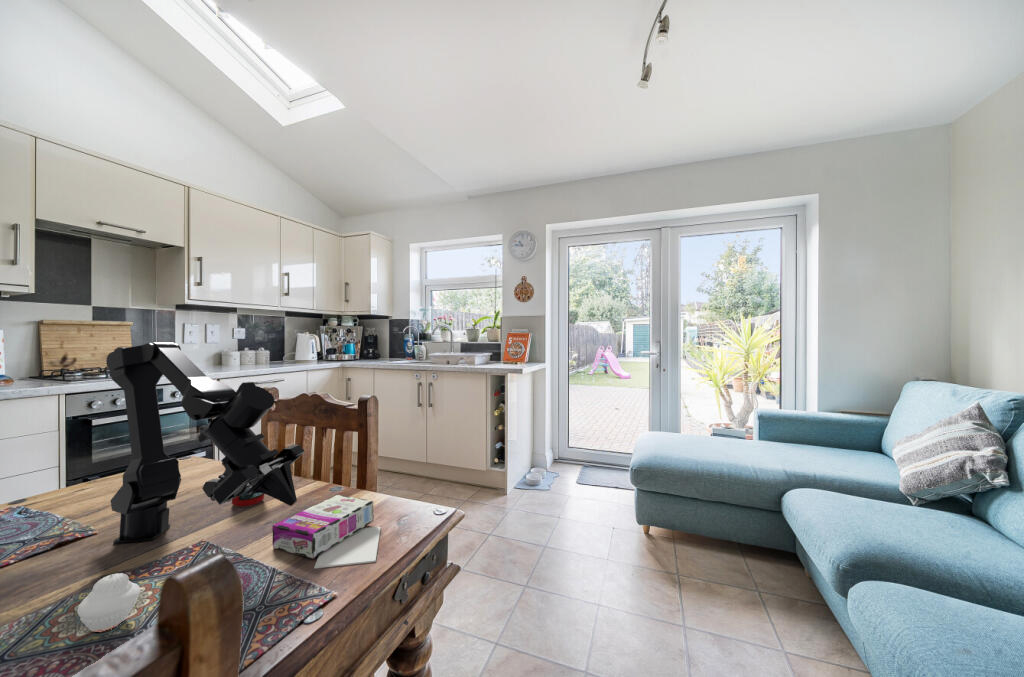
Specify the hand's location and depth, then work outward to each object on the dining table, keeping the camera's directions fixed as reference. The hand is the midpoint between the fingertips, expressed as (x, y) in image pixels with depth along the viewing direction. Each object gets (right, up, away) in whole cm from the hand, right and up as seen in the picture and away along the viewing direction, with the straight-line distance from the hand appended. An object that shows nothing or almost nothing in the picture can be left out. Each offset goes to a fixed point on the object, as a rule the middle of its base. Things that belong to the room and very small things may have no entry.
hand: (294, 503), depth 72 cm
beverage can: (-26, -11, +24) cm, 37 cm away
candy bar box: (-2, -8, +1) cm, 8 cm away
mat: (+8, -11, +6) cm, 15 cm away
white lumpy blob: (-16, -10, -18) cm, 26 cm away
